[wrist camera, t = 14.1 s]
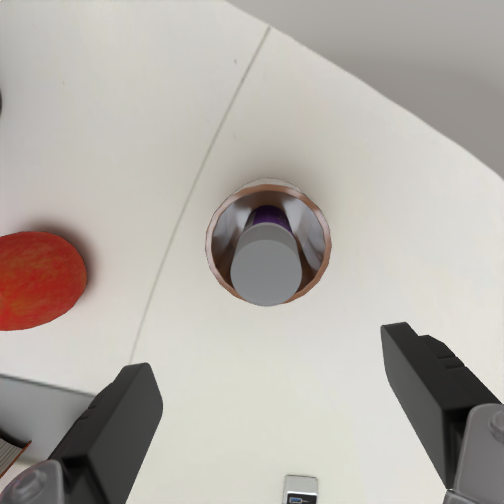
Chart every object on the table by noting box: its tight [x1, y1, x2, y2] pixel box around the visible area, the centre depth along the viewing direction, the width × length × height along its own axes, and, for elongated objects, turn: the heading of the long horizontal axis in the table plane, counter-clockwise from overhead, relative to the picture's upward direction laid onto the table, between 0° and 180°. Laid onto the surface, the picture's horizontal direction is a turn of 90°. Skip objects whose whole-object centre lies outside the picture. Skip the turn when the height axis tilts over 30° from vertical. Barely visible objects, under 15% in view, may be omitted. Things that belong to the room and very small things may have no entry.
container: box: [231, 205, 302, 306], centre depth 26 cm, size 5×5×15 cm
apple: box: [0, 231, 87, 331], centre depth 32 cm, size 10×10×10 cm
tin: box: [205, 178, 332, 304], centre depth 29 cm, size 10×10×10 cm
